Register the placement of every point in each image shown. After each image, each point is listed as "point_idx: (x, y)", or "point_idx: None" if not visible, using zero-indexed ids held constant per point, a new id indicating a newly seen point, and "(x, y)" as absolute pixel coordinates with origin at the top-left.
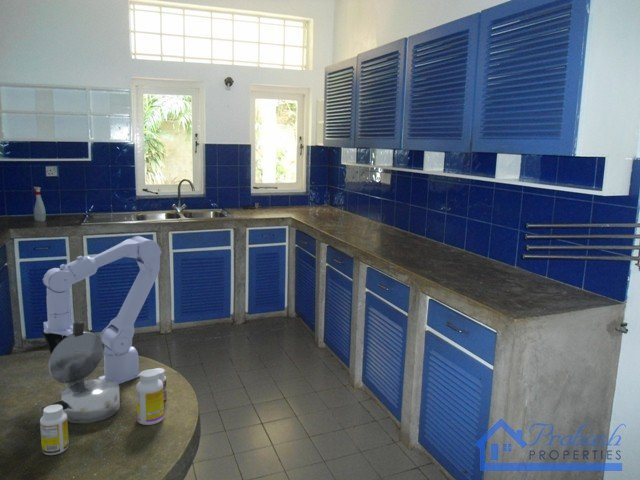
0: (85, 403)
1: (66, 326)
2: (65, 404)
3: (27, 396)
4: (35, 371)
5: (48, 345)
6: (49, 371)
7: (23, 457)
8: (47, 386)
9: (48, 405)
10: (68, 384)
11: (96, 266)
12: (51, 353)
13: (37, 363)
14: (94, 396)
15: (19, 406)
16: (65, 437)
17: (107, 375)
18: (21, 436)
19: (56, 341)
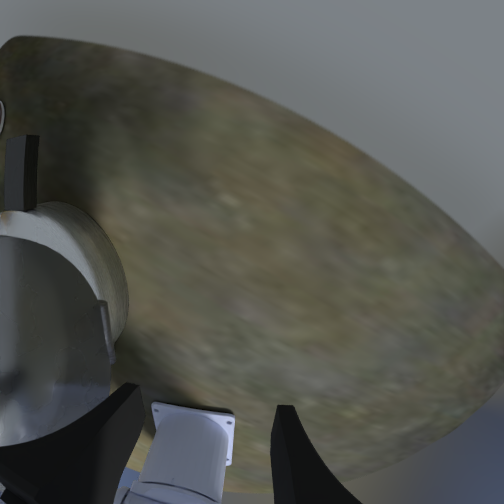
0: None
1: None
2: (5, 203)
3: (320, 214)
4: (453, 333)
5: (307, 464)
6: (13, 237)
7: (15, 65)
8: (334, 305)
9: (24, 157)
10: (99, 302)
11: None
12: (278, 419)
13: (477, 356)
14: None
15: (261, 147)
16: None
17: (181, 426)
18: (72, 76)
19: (24, 477)
